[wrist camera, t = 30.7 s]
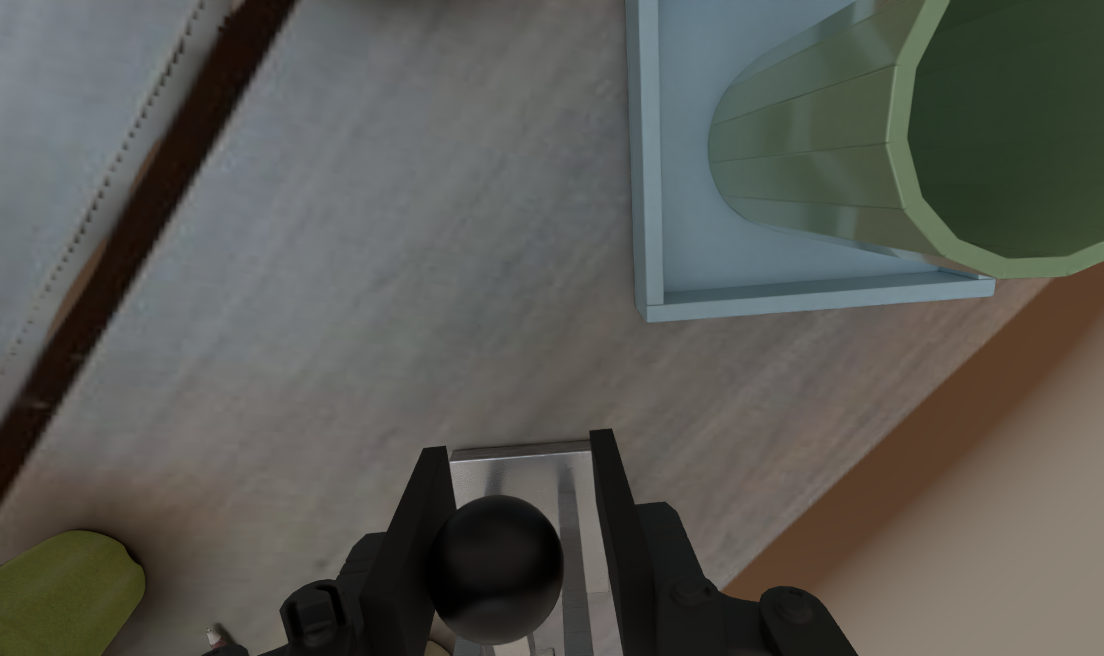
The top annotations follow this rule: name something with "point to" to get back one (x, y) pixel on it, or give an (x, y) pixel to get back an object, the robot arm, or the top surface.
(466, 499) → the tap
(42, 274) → the top surface
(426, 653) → the flower pot
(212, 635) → the pen
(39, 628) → the plant pot
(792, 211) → the cup
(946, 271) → the tray
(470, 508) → the tap lever
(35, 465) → the top surface
